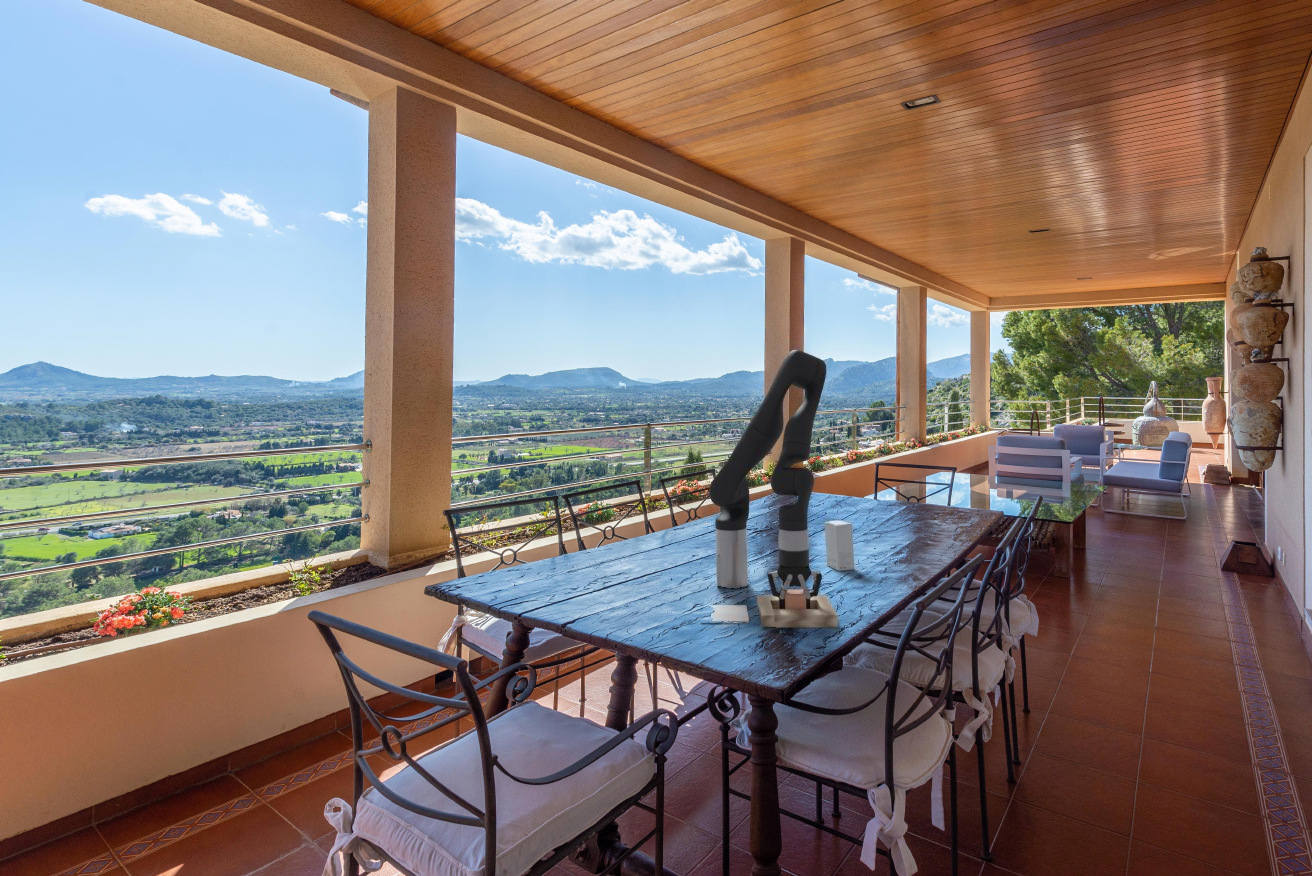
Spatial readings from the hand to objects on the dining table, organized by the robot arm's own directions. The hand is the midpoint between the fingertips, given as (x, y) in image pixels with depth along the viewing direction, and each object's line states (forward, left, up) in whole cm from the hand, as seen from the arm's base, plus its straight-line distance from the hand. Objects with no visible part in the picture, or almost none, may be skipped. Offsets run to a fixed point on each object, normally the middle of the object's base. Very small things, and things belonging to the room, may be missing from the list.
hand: (794, 611), depth 163 cm
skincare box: (+20, +46, -1) cm, 50 cm away
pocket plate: (0, 0, -1) cm, 1 cm away
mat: (-18, +1, -1) cm, 18 cm away
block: (0, 0, -1) cm, 1 cm away
